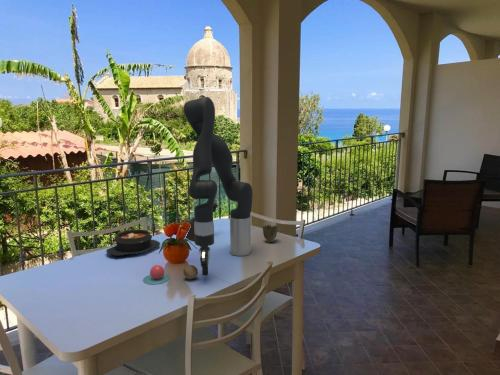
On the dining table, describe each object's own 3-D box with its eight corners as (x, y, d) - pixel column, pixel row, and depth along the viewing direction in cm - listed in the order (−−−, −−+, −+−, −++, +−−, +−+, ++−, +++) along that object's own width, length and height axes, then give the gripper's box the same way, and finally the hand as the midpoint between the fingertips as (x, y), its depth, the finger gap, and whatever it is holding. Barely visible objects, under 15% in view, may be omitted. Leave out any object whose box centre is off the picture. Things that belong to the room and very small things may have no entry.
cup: (279, 240, 195) (279, 225, 193) (274, 245, 188) (274, 229, 187) (265, 238, 198) (266, 223, 196) (260, 243, 191) (260, 227, 190)
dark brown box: (195, 242, 193) (194, 207, 189) (183, 237, 200) (182, 204, 197) (220, 236, 203) (219, 202, 200) (207, 231, 211) (206, 199, 208)
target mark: (146, 274, 154) (146, 273, 154) (171, 273, 154) (171, 273, 154) (140, 284, 144) (140, 284, 144) (167, 284, 144) (166, 283, 144)
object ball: (167, 266, 151) (162, 278, 152) (154, 260, 151) (149, 272, 152) (164, 271, 146) (159, 284, 147) (151, 266, 146) (146, 278, 146)
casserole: (117, 263, 166) (115, 244, 164) (100, 252, 179) (98, 235, 178) (167, 249, 183) (167, 232, 181) (148, 240, 196) (148, 224, 195)
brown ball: (200, 265, 152) (194, 277, 152) (187, 260, 151) (181, 273, 151) (199, 271, 146) (194, 283, 147) (186, 266, 145) (180, 278, 146)
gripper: (196, 227, 153) (197, 268, 156) (192, 237, 140) (193, 282, 143) (215, 226, 153) (215, 268, 156) (213, 237, 140) (214, 281, 143)
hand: (205, 274), depth 150 cm, fingers closed
